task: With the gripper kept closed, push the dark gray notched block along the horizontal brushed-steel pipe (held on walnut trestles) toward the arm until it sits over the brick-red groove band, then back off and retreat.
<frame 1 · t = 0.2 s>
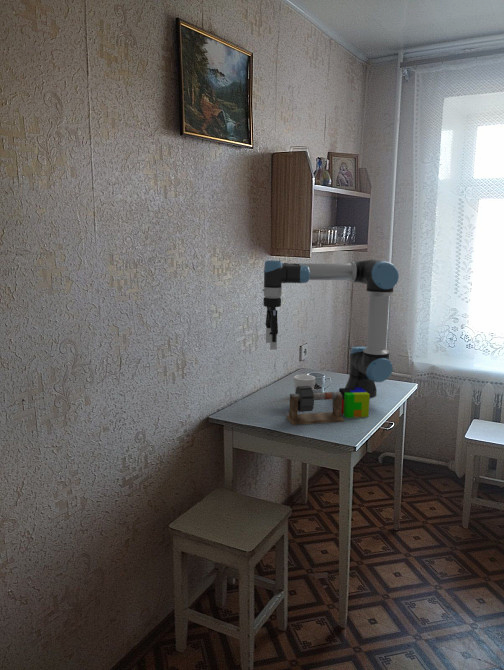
hand: (271, 346, 235), 28 cm above the table, fingers open, 13 cm apart
pipe rig: (315, 419, 227), on the table
dark gray notched block: (304, 398, 224), point 9 cm above the table, touching pipe rig
puzzle toy: (353, 413, 236), on the table
foam cup: (303, 405, 245), on the table
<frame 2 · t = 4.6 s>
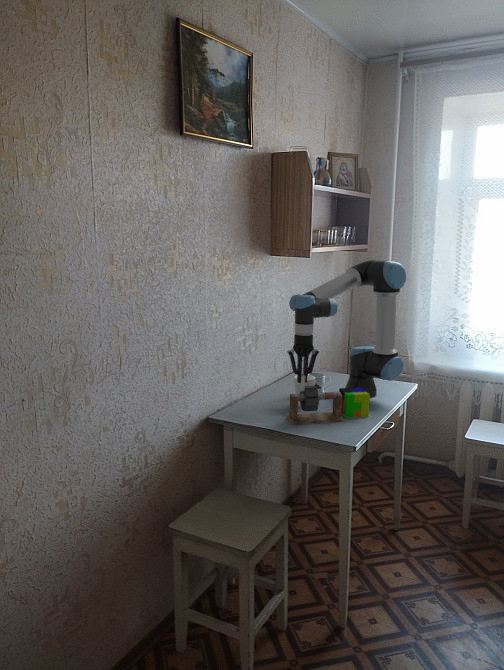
hand: (301, 390, 223), 13 cm above the table, fingers closed
dark gray notched block: (309, 398, 224), point 9 cm above the table, touching gripper, pipe rig
everything else where it was.
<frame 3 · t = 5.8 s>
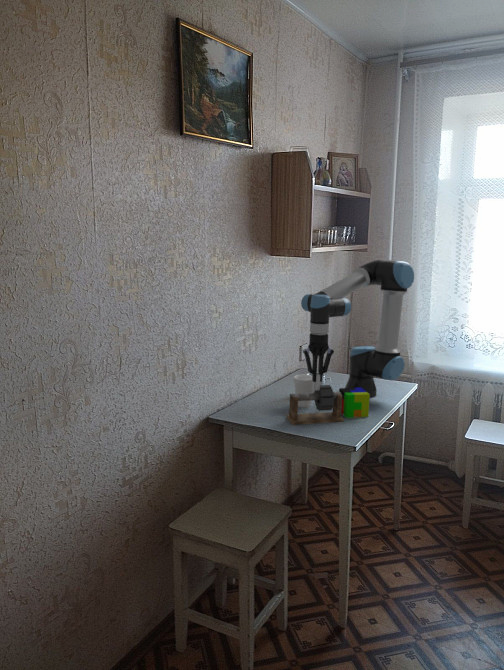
hand: (316, 389, 224), 13 cm above the table, fingers closed
dark gray notched block: (323, 397, 226), point 9 cm above the table, touching pipe rig
everything else where it was.
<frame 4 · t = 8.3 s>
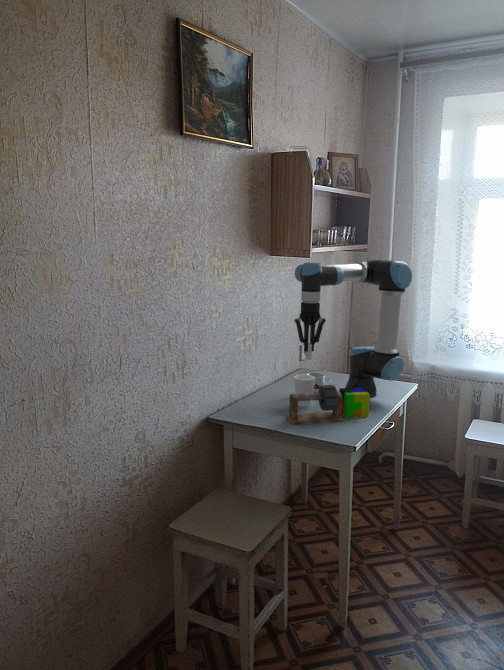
hand: (308, 359, 221), 26 cm above the table, fingers closed
dark gray notched block: (328, 397, 226), point 9 cm above the table, touching pipe rig
everything else where it was.
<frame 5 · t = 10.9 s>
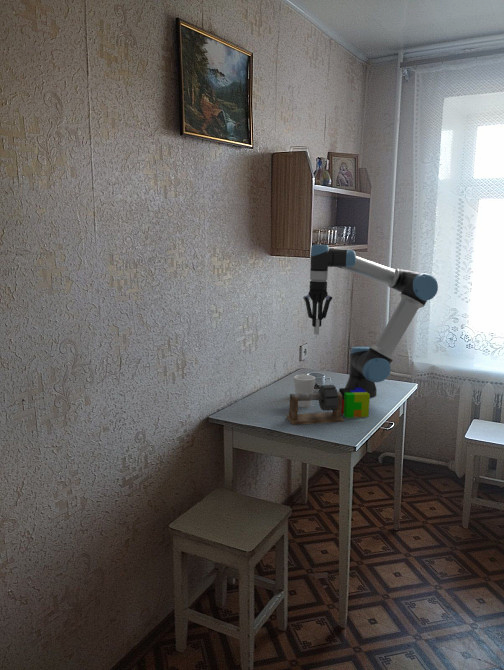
hand: (316, 333, 241), 32 cm above the table, fingers closed
nothing on the table moved.
at the end: dark gray notched block 0.2 cm from the target spot on the pipe rig, point 9.3 cm above the pipe rig's base; dark gray notched block touching pipe rig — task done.
